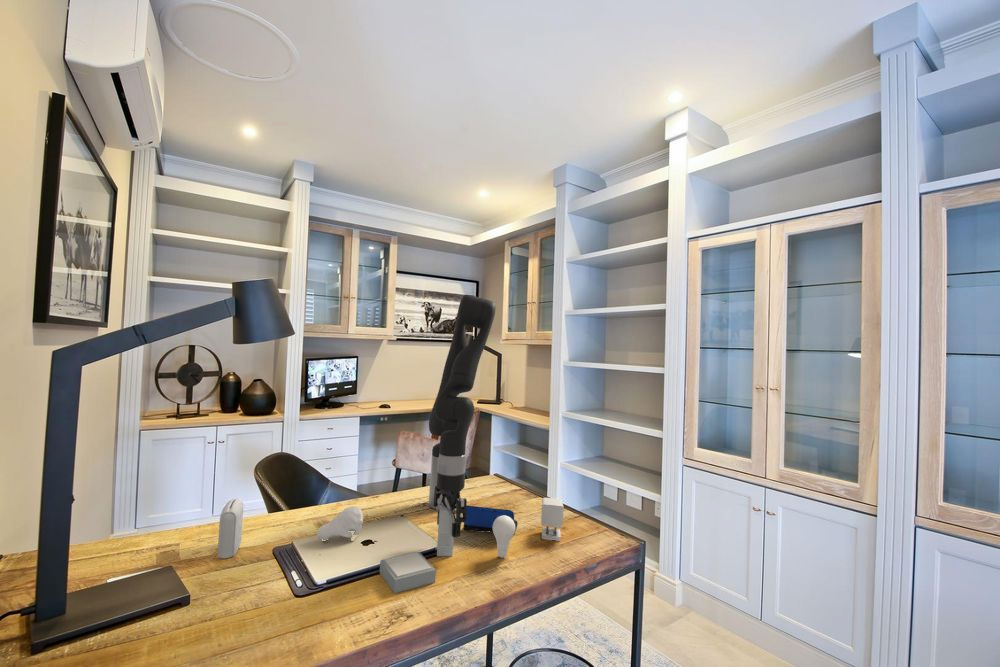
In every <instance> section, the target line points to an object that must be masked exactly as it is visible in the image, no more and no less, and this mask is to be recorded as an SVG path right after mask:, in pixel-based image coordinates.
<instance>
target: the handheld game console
mask: <svg viewBox="0 0 1000 667" xmlns="http://www.w3.org/2000/svg"><path fill="white" fill-rule="evenodd" d="M461 514H462V515H463V513H461ZM503 515H505V516H508V517H510V518H511V519H512V520H513V521H514V523H515V533H514V535H515V534H516V531H517V527H518V521H517V520H515V513H514V511H513V510H510V509H504V508H503V509H502V508H495V507H484V506H477V505H476V506H474V505H467V511H466V522H463V530H464V531H469V530H474V531H473V532H478V531H490V532H493V529H492V528H493V523H494V521H495V519H496V518H498V517H499V516H503ZM490 532H489V533H490Z"/></svg>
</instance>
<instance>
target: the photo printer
mask: <svg viewBox="0 0 1000 667" xmlns="http://www.w3.org/2000/svg"><path fill="white" fill-rule="evenodd" d="M243 523H244V502H243V501H242V500H241V499H240V498H235V499H234V498H232V499H230V500H229V501H228V502H226V503H225V505H224V507H223V508H222V510H221V513H220V517H219V529H218V538H217V539H218V541H217V542H218V543H217V557H218V558H219V559H229V558H232V557H234V556H235V555H236V553H237V552H238V549H239V548H240V546H241V543H242V538H243V536H242V535H243Z"/></svg>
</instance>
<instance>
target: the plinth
mask: <svg viewBox="0 0 1000 667" xmlns="http://www.w3.org/2000/svg"><path fill="white" fill-rule="evenodd" d="M436 573H437V569H436V568H435V567H434V565H432V564H431V563H430V562H429V561H428V560H427V558H425V556H424V555H423V554H422V553H421V552H420V551H416V552H412V553H408V554H406V553H405V554H403V555H398V556H394V557H393V556H392V557H388V558H385V559H380V561H379V574H380V575H381V577H382V578H383V580H384V581H385V583H386V584H387V585H388V587H389V589H390V590H391V591H392V592H393V594H397V593H401V592H405V591H408V590H412V589H416V588H420V587H424V586H427V585H432V584H434V583H436V578H437V577H436V576H437V575H436Z"/></svg>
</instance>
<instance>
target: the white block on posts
mask: <svg viewBox="0 0 1000 667" xmlns="http://www.w3.org/2000/svg"><path fill="white" fill-rule="evenodd" d="M540 514H541V515H540V516H541V517H540V518H541V519H540V524H541V526H544V527H542V528H541V540H543V539H547V540H546V541H552V540H556V541H555V542H561V539H562V538H561V537H562V536H561V529H560V528H562V527H563V524H564V502H563V499H561V498H556V497H555V498H554V497H543V498H542V499H541V513H540ZM558 528H559V529H558Z"/></svg>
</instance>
